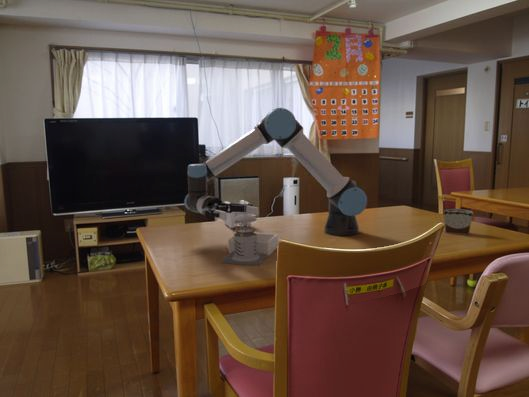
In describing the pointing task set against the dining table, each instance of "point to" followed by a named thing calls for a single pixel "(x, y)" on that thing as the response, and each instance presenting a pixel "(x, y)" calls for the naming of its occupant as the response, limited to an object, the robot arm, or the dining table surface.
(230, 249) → the white open storage bin
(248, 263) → the rubber mat
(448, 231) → the food container
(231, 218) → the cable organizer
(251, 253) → the french press
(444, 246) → the dining table surface
